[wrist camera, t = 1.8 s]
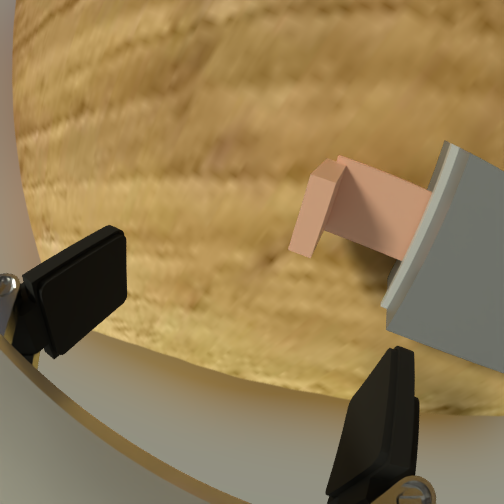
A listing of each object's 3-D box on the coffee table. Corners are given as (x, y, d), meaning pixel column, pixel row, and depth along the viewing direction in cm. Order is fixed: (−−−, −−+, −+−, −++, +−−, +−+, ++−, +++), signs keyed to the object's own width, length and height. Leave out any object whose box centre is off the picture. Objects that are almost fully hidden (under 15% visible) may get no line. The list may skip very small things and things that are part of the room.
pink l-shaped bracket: (523, 239, 18) (554, 277, 13) (490, 298, 21) (508, 345, 16) (329, 151, 22) (312, 165, 17) (307, 221, 25) (286, 256, 20)
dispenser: (569, 216, 18) (610, 250, 11) (506, 328, 25) (524, 380, 18) (438, 137, 22) (462, 149, 15) (382, 275, 29) (378, 327, 22)
